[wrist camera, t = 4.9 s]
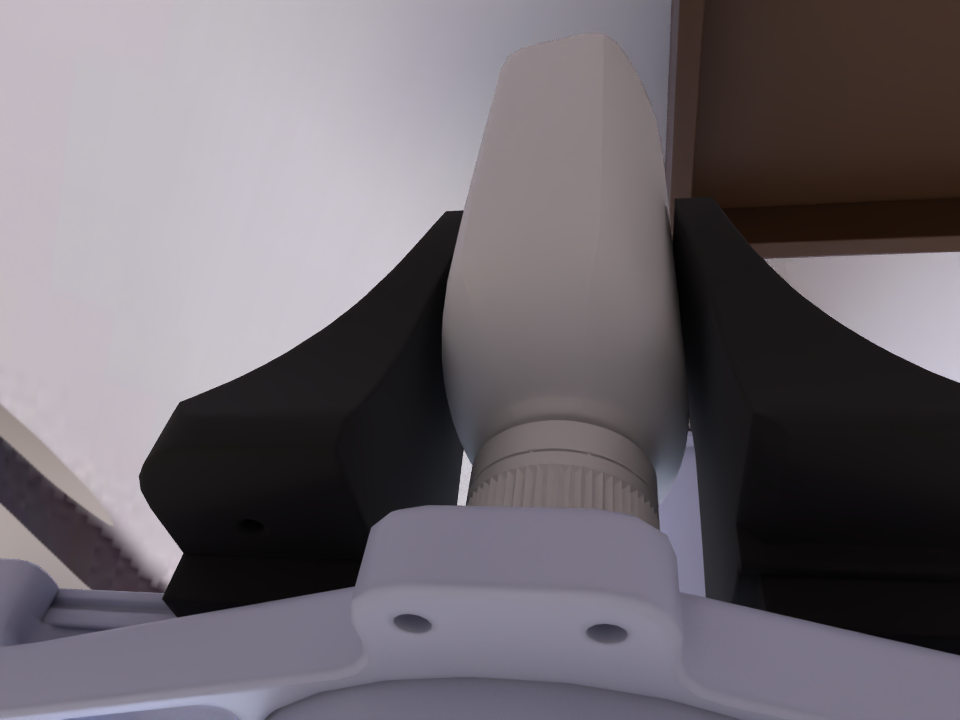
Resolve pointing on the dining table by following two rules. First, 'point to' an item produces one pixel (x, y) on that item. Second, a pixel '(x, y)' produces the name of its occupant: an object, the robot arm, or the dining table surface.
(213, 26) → the dining table surface
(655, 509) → the eye dropper bottle
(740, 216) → the tray
